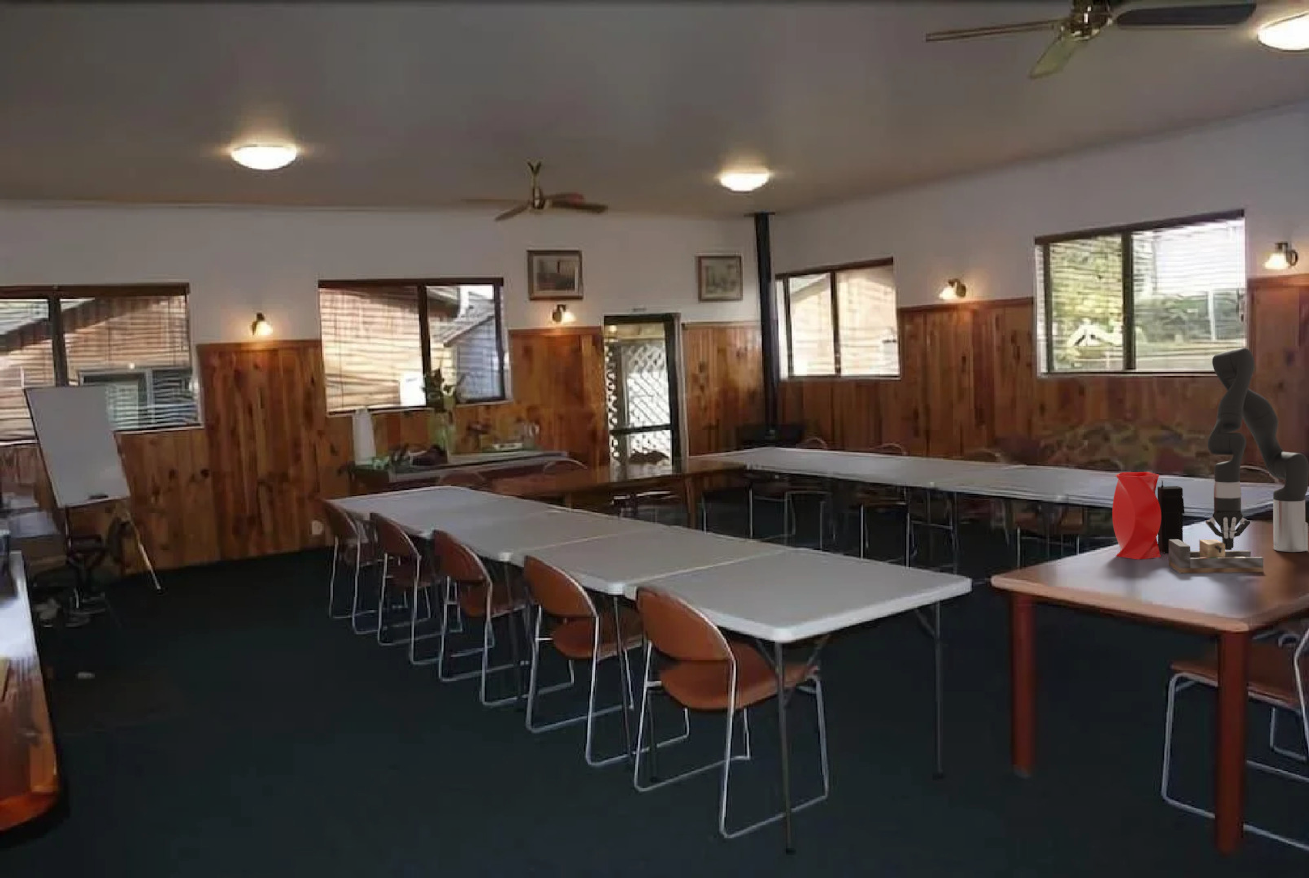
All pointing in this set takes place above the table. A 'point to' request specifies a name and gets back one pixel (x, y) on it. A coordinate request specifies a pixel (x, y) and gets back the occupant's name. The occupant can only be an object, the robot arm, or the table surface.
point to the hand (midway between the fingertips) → (1227, 549)
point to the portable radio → (1170, 515)
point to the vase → (1136, 515)
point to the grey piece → (1211, 560)
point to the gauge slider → (1211, 548)
